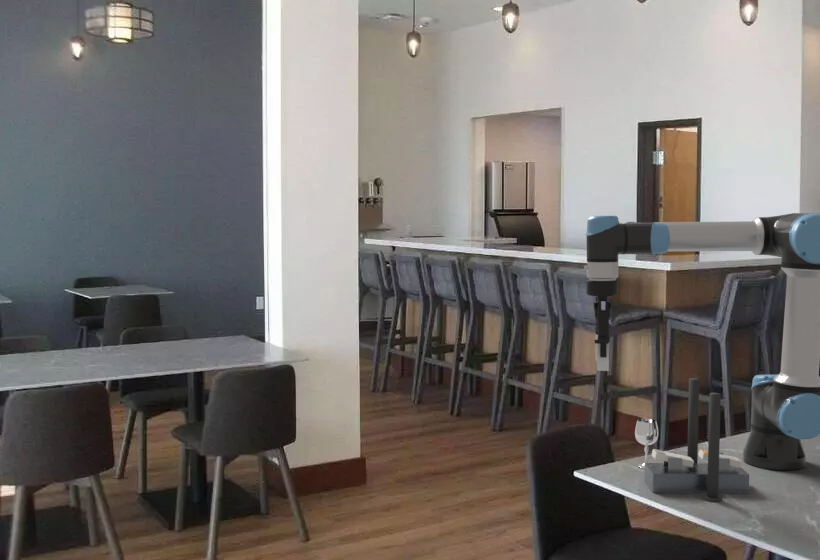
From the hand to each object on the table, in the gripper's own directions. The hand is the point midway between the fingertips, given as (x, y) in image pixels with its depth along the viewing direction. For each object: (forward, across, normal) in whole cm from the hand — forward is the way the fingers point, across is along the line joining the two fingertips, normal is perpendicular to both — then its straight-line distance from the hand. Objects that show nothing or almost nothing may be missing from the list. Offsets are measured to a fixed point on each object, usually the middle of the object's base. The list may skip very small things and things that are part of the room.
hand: (601, 365), depth 222 cm
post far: (+28, -4, +22) cm, 36 cm away
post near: (+28, +14, +24) cm, 39 cm away
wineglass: (+28, -10, +12) cm, 32 cm away
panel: (+28, +5, +22) cm, 36 cm away
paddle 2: (+21, +5, +27) cm, 35 cm away
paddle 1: (+21, +6, +16) cm, 27 cm away
